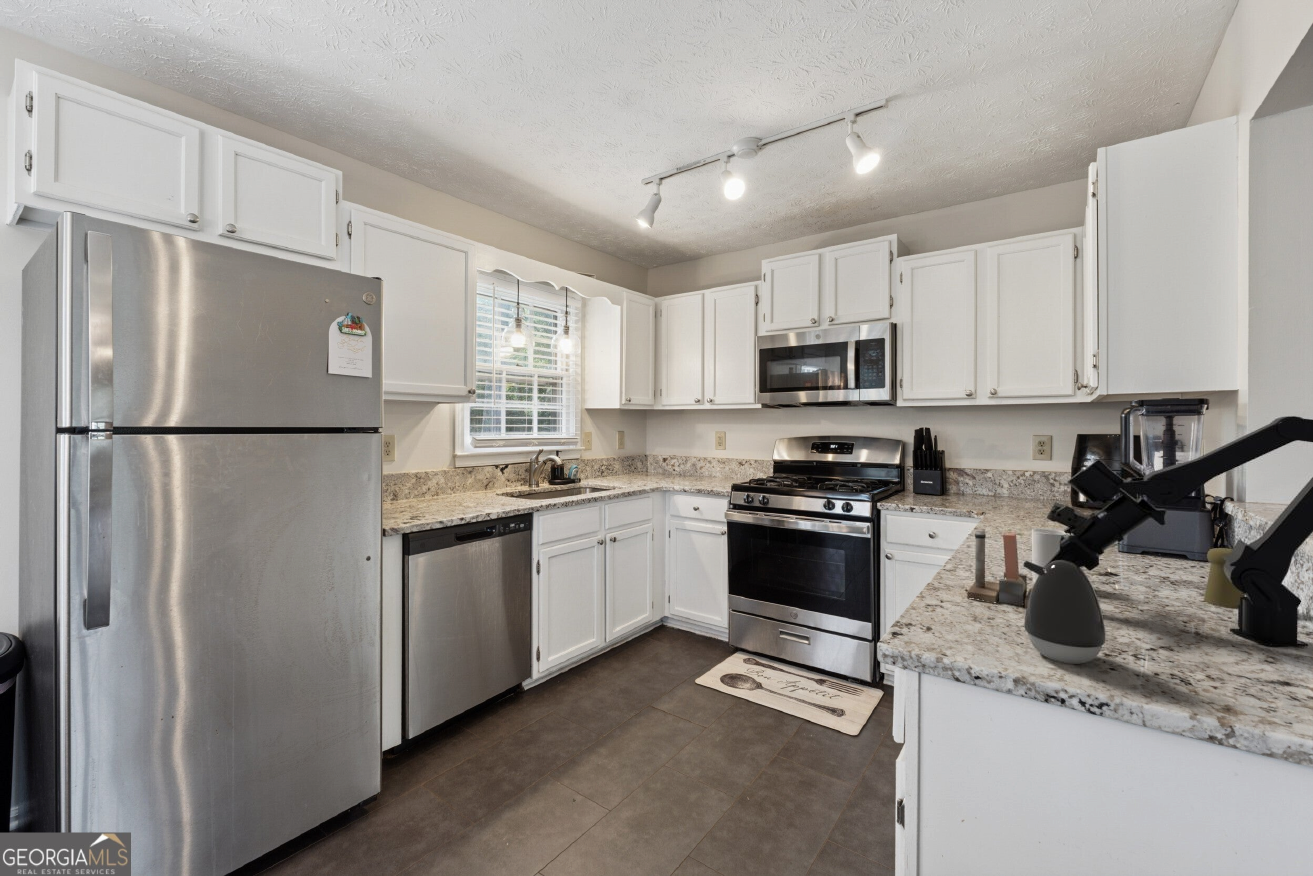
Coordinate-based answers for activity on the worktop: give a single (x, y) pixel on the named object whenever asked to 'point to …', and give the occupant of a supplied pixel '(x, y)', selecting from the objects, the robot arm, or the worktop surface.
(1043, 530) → the mug
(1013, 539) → the adjuster lever
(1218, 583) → the olive tapered cylinder
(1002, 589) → the stand
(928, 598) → the worktop surface
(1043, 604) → the pump dispenser
